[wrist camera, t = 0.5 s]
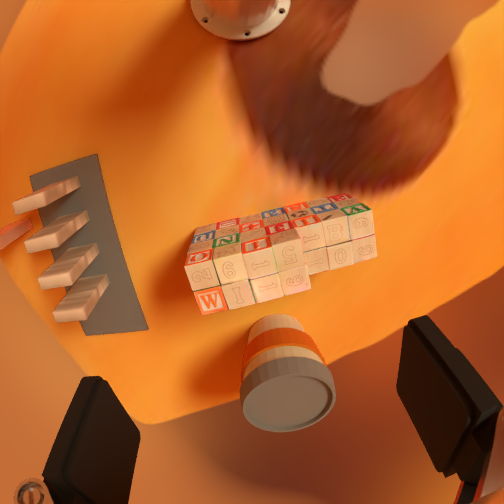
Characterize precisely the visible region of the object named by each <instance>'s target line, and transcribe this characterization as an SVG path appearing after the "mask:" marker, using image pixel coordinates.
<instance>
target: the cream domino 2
mask: <svg viewBox="0 0 504 504" xmlns="http://www.w3.org/2000/svg"><path fill="white" fill-rule="evenodd" d="M88 221H90V220H89V216H88V212H87V210H84V211H80V212H76V213H72V214H68V215H64V216H61V217H58V218H57V219H55V220H54V221H52V222H51V223H49V224H48V225H47V226H45V227H44V228H42V229H41V230H39V231H38V232H37V233H35V234H34V235H32V236H31V237H30V238H28V239H27V240H26V241H24V244H25V247H26V250H27V253H28V254H30V253H34V252H38V251H43V250H47V249H52V248H56V247H59V246H60V245H61V244H62V243H63V242H64V241H66V240H67V239H68V238H69V237H70V236H71V235H73V234H74V233H75V232H76V231H77V230H79V229H80V228H81V227H82V226H83V225H85V224H86V223H87V222H88Z"/></svg>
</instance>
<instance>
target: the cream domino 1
mask: <svg viewBox="0 0 504 504" xmlns="http://www.w3.org/2000/svg"><path fill="white" fill-rule="evenodd" d="M79 187H81V186H80V182H79V177H78V176H75V177H72V178H69V179H66V180H62V181H59V182H56V183H53V184H50V185H48V186H46V187H44V188H41V189H39V190H37V191H35V192H33V193H31V194H29V195H27V196H25V197H22V198H20V199H18V200H16V201H14V202H12V205H13V209H14V212H15V215H18V214H21V213H25V212H28V211H31V210H34V209H37V208H41V207H44V206H46V205H48V204H50V203H52V202H53V201H55V200H57V199H59V198H61V197H62V196H64V195H66V194H68V193H70V192H72V191H73V190H75V189H77V188H79Z"/></svg>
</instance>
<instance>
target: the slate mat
mask: <svg viewBox="0 0 504 504" xmlns="http://www.w3.org/2000/svg"><path fill="white" fill-rule="evenodd" d="M75 176H78V177H79V182H80V186H81V187H79V188H77V189H75V190H73V191H72V192H70V193H68V194H66V195H64V196H62V197H61V198H59V199H57V200H55V201H53V202H52V203H50V204H48V205H46V206H44V207H41V208H38V210H39V214H40V217H41V221H42V224H43V227H45V226H47V225H48V224H49V223H51V222H52V221H54V220H55V219H57V218H58V217H61V216H64V215H68V214H72V213H76V212H80V211H84V210H87V212H88V216H89V220H90V221H88V222H87V223H86V224H85V225H83V226H82V227H81V228H80V229H79V230H77V231H76V232H75V233H74V234H73V235H71V236H70V237H69V238H68V239H67V240H66V241H64V242H63V243H62V244H61V245H60V246H59V247H56V248H52V249H51V251H52V254H53V257H54V260H55V261H56V260H57V259H58V258H59V257H60V256H61V255H62V254H63V253H64V252H65V251H67V250H68V249H69V248H72V247H77V246H82V245H87V244H92V243H97V246H98V249H99V254H98V255H97V256H96V257H95V258H94V260H93V261H92V262H91V263H90V264H89V265H88V267H87V268H86V269H85V270H84V271H83V272H82V274H81V275H80V276H79V277H78V278H77V280H78V279H79V278H82V277H88V276H94V275H100V274H106V273H107V276H108V279H109V282H110V283H109V285H108V286H107V288H106V289H105V291H104V293H103V294H102V296H101V297H100V299H99V300H98V302H97V304H96V305H95V307H94V308H93V310H92V312H91V313H90V315H89V316H88V318H87V320H81V321H80V324H81V326H82V328H83V330H84V332H85V334H86V336H89V335H101V334H113V333H123V332H134V331H143V330H148V329H149V328H148V325H147V323H146V320H145V317H144V315H143V312H142V309H141V306H140V304H139V301H138V298H137V295H136V292H135V289H134V286H133V283H132V280H131V277H130V274H129V271H128V268H127V265H126V262H125V259H124V255H123V252H122V249H121V245H120V242H119V239H118V235H117V232H116V228H115V225H114V221H113V217H112V214H111V210H110V206H109V202H108V198H107V194H106V190H105V186H104V182H103V178H102V173H101V169H100V164H99V160H98V155H97V154H94V155H91V156H88V157H84V158H81V159H78V160H75V161H72V162H69V163H66V164H63V165H60V166H57V167H54V168H51V169H48V170H45V171H42V172H40V173H37V174H34V175H31V176H30V180H31V184H32V188H33V192H35V191H37V190H39V189H41V188H44V187H46V186H48V185H50V184H53V183H56V182H59V181H62V180H66V179H69V178H72V177H75ZM77 280H76V281H75V282H74V283H73V285H74V284H75V283H76V282H77ZM73 285H71V286H65V289H66V291H67V293H68V291H69V290H70V289H71V288H72V286H73Z"/></svg>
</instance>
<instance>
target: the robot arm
mask: <svg viewBox="0 0 504 504" xmlns="http://www.w3.org/2000/svg"><path fill="white" fill-rule="evenodd" d="M190 3H191V8H192V12H193V14H194V17H195V18H196V20H197V21H198V23H199V24H200V25H201V26H202V27H203V28H204V29H205V30H207V31H208V32H210V33H212V34H213V35H216V36H218V37H221V38H224V39H228V40H237V41H244V40H252V39H256V38H260V37H262V36H265V35H267V34H269V33H270V32H272V31H274V30H275V29H276V28H277V27H278V26H279V25H280V24H281V23H282V22H283V21H284V19H285V18H286V16H287V14H288V12H289V8H290V5H291V0H190ZM279 12H283V14H280V13H279ZM205 20H207V21H208V22H207V23H204V21H205ZM245 33H248V34H249V35H248V36H246V35H245ZM396 387H397V392H398V395H399V397H400V399H401V401H402V403H403V404H404V407H405V408H406V410H407V412H408V414H409V416H410V418H411V420H412V422H413V424H414V426H415V428H416V430H417V432H418V434H419V436H420V438H421V440H422V442H423V444H424V446H425V448H426V450H427V452H428V454H429V456H430V458H431V460H432V462H433V464H434V466H435V468H436V470H437V471H438V472H443V474H444V476H445V478H446V477H448V476H450V475H453V474H455V473H457V474H458V476H459V478H460V480H461V483H460V486H459V489H458V492H457V495H456V498H455V501H454V503H453V504H504V407H503V405H502V404H501V403H500V401H499V400H498V398H497V397H496V396H495V394H494V393H493V392H492V390H491V389H490V388H489V386H488V385H487V384H486V383H485V381H484V380H483V379H482V378H481V376H480V375H479V374H478V372H477V371H476V370H475V369H474V367H473V366H472V365H471V364H470V362H469V361H468V360H467V359H466V357H465V356H464V355H463V354H462V353H461V351H459V350H458V349H457V348H455V347H454V346H453V345H452V344H451V342H450V341H449V340H448V339H447V338H446V336H445V335H444V334H443V333H442V332H441V331H440V330H439V328H438V327H437V326H436V325H435V323H434V322H433V321H432V320H431V319H430V318H429V317H428V316H427V315H424V316H421V317H418V318H415V319H411V320H409V322H408V326H405V327H404V330H403V339H402V348H401V357H400V364H399V371H398V378H397V385H396ZM139 443H140V432H139V430H138V428H137V427H136V425H135V424H134V422H133V421H132V419H131V418H130V416H129V415H128V413H127V412H126V410H125V409H124V407H123V406H122V404H121V403H120V401H119V400H118V398H117V396H116V395H115V393H114V392H113V390H112V388H111V387H110V385H109V384H108V382H107V381H106V380H103V379H102V377H100V376H89V377H83V378H82V379H81V381H80V384H79V386H78V388H77V390H76V393H75V395H74V397H73V399H72V402H71V404H70V406H69V408H68V411H67V413H66V415H65V417H64V420H63V422H62V424H61V427H60V429H59V432H58V434H57V437H56V439H55V442H54V444H53V447H52V449H51V452H50V454H49V457H48V460H47V462H46V465H45V468H44V470H43V473H42V476H43V477H44V480H43V481H41V480H40V479H37V478H29V479H26V480H24V481H22V482H21V483H20V484H19V485H18V487H17V488H16V490H15V493H14V503H15V504H128V501H129V494H130V490H131V484H132V479H133V473H134V468H135V463H136V458H137V453H138V448H139Z"/></svg>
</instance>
